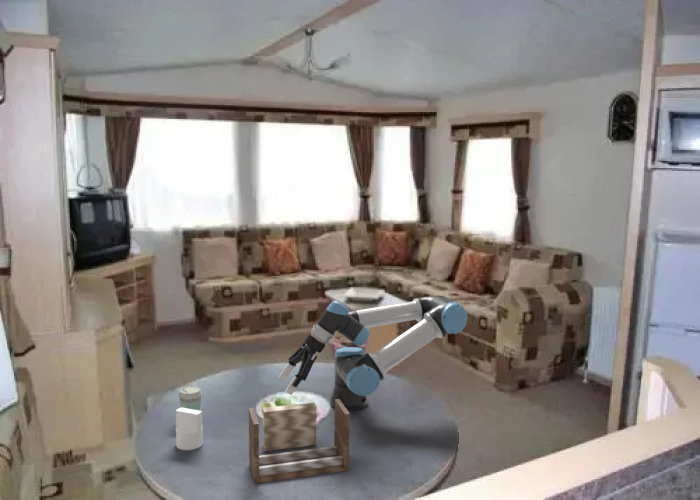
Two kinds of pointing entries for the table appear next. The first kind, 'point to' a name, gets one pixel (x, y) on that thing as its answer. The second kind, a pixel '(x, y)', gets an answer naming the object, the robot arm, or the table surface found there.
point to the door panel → (289, 426)
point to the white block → (189, 429)
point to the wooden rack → (301, 453)
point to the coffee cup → (190, 397)
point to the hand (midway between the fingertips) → (284, 386)
